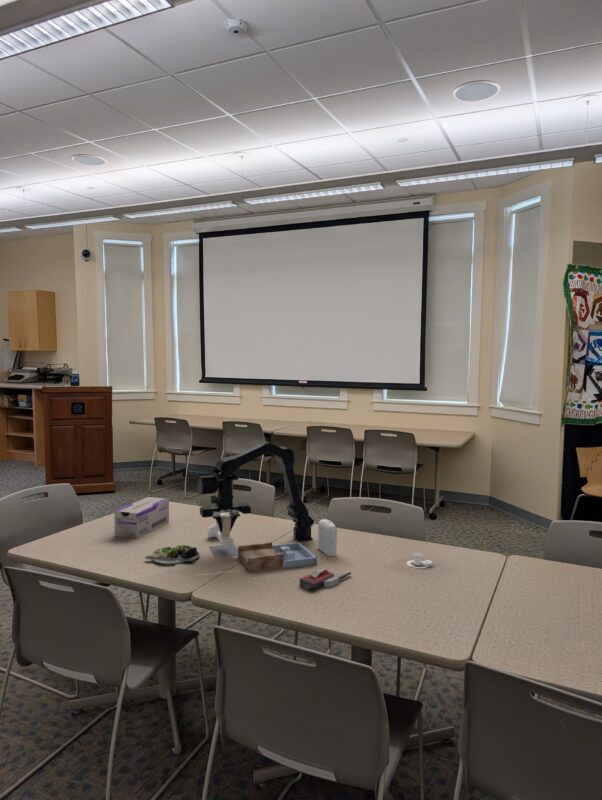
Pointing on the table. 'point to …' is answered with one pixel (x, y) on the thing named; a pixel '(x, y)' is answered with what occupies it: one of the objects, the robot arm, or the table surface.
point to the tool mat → (224, 550)
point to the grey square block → (289, 555)
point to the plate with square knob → (225, 531)
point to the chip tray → (297, 555)
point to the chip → (283, 549)
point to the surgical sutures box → (141, 517)
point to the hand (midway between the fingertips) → (225, 532)
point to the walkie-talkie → (320, 580)
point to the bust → (214, 528)
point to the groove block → (260, 556)
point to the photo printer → (327, 537)
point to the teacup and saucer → (419, 561)
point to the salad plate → (175, 555)
